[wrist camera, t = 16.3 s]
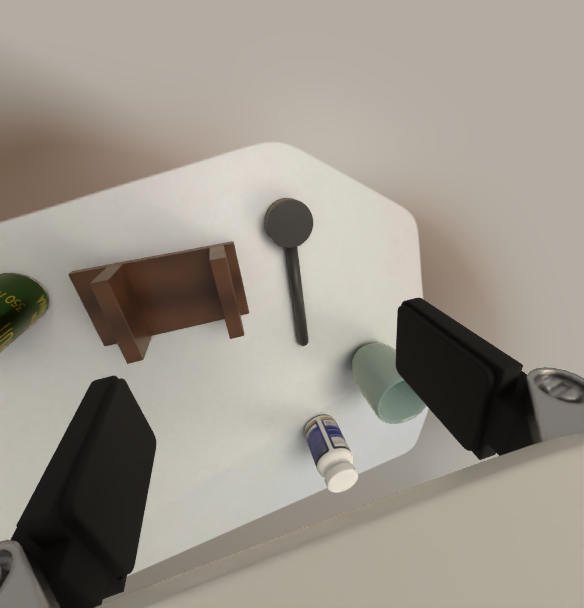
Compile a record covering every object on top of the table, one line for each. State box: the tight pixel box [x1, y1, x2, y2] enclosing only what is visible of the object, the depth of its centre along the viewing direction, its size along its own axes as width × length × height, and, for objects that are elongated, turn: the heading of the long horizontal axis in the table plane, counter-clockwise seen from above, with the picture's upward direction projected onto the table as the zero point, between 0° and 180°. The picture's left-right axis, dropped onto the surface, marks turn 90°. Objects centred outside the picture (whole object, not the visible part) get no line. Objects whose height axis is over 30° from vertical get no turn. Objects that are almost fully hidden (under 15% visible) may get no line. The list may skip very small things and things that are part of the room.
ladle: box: [265, 198, 313, 346], centre depth 36 cm, size 5×20×2 cm, turn 7°
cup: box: [352, 343, 426, 424], centre depth 41 cm, size 8×8×10 cm
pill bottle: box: [304, 415, 358, 493], centre depth 45 cm, size 6×6×10 cm
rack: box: [69, 242, 249, 364], centre depth 31 cm, size 9×17×6 cm, turn 97°
